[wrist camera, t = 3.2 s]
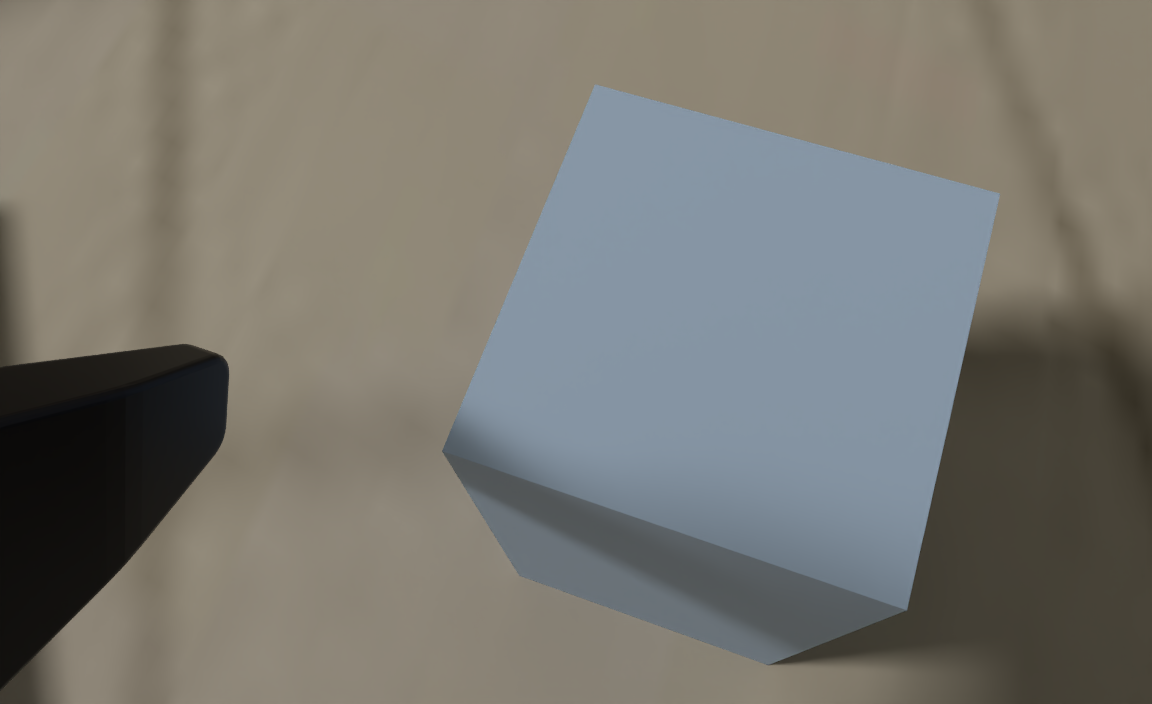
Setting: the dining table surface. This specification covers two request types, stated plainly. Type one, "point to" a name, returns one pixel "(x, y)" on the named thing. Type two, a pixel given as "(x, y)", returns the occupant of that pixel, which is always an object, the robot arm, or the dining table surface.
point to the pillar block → (725, 378)
